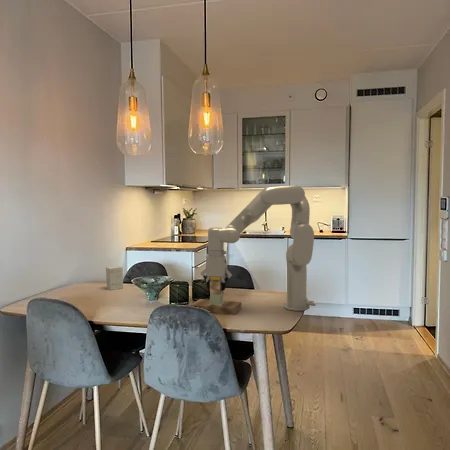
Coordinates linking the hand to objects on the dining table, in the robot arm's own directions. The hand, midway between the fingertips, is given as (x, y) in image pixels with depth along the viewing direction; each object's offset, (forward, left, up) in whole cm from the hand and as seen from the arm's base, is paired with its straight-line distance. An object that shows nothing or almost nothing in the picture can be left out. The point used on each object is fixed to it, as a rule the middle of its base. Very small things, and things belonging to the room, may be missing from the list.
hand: (216, 289), depth 196 cm
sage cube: (0, 0, -7) cm, 7 cm away
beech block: (0, 0, -2) cm, 2 cm away
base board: (0, 0, -10) cm, 10 cm away
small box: (+73, -26, -10) cm, 78 cm away
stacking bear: (+11, -28, -10) cm, 32 cm away
